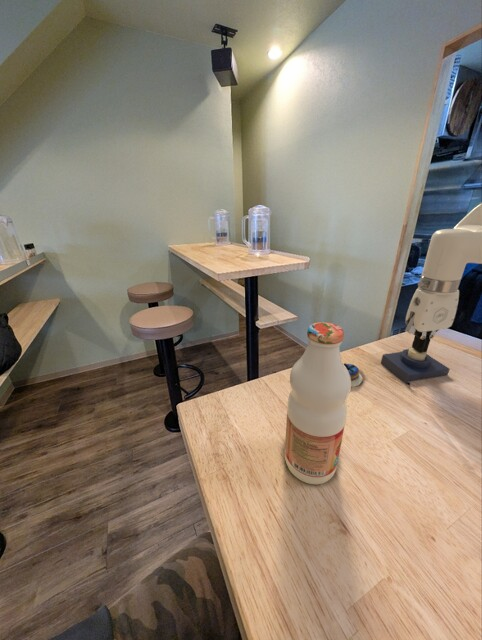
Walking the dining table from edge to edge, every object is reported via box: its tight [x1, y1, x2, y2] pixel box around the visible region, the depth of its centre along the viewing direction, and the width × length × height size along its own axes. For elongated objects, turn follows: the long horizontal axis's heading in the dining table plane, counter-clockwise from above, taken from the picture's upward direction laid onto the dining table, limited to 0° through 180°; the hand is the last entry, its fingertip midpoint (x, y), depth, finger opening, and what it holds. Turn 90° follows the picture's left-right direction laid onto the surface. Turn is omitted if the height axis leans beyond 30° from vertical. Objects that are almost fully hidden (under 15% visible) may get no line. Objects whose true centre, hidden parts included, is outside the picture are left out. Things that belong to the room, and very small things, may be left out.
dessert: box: [343, 362, 364, 388], centre depth 68 cm, size 8×7×6 cm
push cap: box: [408, 346, 428, 361], centre depth 68 cm, size 4×4×2 cm
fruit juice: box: [284, 321, 352, 485], centre depth 41 cm, size 9×9×28 cm
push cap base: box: [380, 348, 451, 386], centre depth 69 cm, size 12×10×5 cm
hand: (418, 349), depth 68 cm, fingers closed
